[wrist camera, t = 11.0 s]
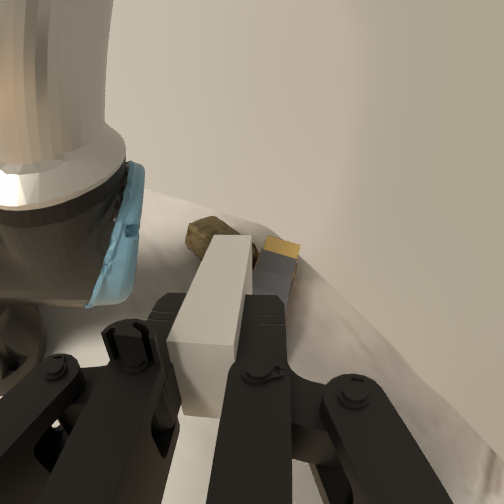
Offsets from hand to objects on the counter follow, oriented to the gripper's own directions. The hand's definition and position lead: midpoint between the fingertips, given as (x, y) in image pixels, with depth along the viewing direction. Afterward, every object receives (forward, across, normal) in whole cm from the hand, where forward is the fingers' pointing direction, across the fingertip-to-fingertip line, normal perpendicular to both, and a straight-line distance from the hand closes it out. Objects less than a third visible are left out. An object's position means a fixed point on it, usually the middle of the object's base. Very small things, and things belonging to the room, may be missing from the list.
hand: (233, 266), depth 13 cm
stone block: (+34, -7, -16) cm, 38 cm away
